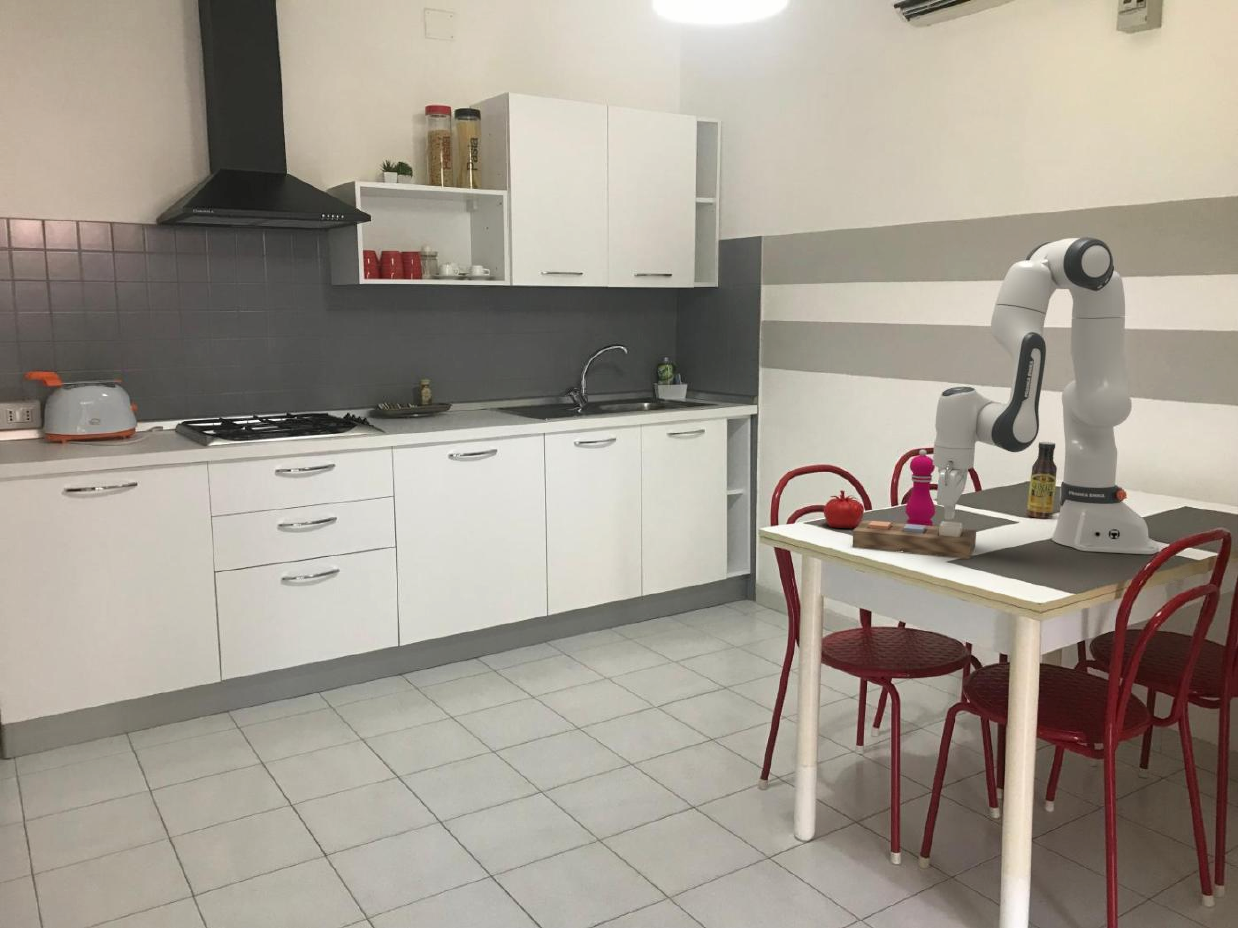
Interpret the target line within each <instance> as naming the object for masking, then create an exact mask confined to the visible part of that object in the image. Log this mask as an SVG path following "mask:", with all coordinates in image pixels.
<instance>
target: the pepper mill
mask: <svg viewBox="0 0 1238 928" xmlns="http://www.w3.org/2000/svg"><path fill="white" fill-rule="evenodd" d="M918 453H919V455H917V456H914V457H913V458H912V459H911V460H910V462H909V469H910V471H911V472H912V474H911V481H912V483H913V485H912V491H911V495H910V497H909V499H908V501H907V502H906V505H905V514H906V515H907V517H908V519H907V520H906V524H914V525H925V526H934V525H933V524H934V523H933V521H932V520H931V519H932V518H933V517H934V516H935V514H936V507H935V502H934V501H933V499H932V496H931V491H930V487H931V486H930V485H931V482H932V481H933V474H932V473H933V472H934V470H935V468H936V466H934V465H933V457H932V458H931V456H927V455H928V454H927V453H928V452H927V450H925V449H921V450H919V452H918Z"/></svg>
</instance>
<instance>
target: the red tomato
mask: <svg viewBox="0 0 1238 928" xmlns="http://www.w3.org/2000/svg"><path fill="white" fill-rule="evenodd" d="M839 493H840V494H839V496H838V495H830V498H831V499H830V500H828V501H827V502H826V503H825V505H824V508H823V515H824V518H825V522H826V524H827V526H828V527H832V528H836V529H837V528H838V529H853V528H854V529H855V528H856V527H857V526H858V525H859V524H860V523H861V522H862V520H864V511H865V507H864V505H863V504H862V503H861V502H860V501H859V498H856V497H854V496H851V495H848V496H845V490H840V491H839Z"/></svg>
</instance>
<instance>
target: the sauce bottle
mask: <svg viewBox="0 0 1238 928" xmlns="http://www.w3.org/2000/svg"><path fill="white" fill-rule="evenodd" d="M1037 447H1038V456H1037V458H1036V459H1035V461H1034V463H1033V465H1032V466H1031V476H1030V481H1029V491H1028V498H1027V499H1028V500H1027V507H1026V508H1027V512H1026V513H1027V515H1028V516H1029V517H1032V518H1035V519H1049V518H1052V515H1053V510H1054V500H1055V492H1056V484H1057V483H1056V482H1057V470H1058V468H1057V465H1056V463H1055V461H1054V454H1055V449H1056V443H1055V442H1049V441H1039V442H1038V446H1037Z"/></svg>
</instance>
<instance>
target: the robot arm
mask: <svg viewBox="0 0 1238 928" xmlns="http://www.w3.org/2000/svg"><path fill="white" fill-rule="evenodd" d="M1112 254H1113V253H1112V251H1111V249H1110V248H1109V246H1108V244H1107V243H1106V242H1104V241H1103V240H1100V239H1098V238H1093V237H1088V236H1086V237H1085V236H1084V237H1070V238H1069V237H1068V238H1062V239H1059V240H1057V241H1056V240H1055V241H1049V242H1045V243H1042V244H1040V245H1038V246H1036V247H1034V248H1033V249H1032V250H1031V251H1030V253H1029V254H1028V255H1027V256H1026V258H1025V260H1021V261H1017V262H1015V263H1014V264H1012V266H1010V268H1009V269H1008V271H1007V272H1006V275H1005V277H1004V280H1003V281H1002V284H1001V286H1000V289H999V292H998V295H997V297H996V301H995V305H994V308H993V311H992V314H991V315H992V316H991V322H990V332H991V335H992V337H993V338H994V340H995V342H996V343H997V344H998V345H999V346H1000V347H1001V348H1002V349H1004V350H1005V351H1006V352H1007V353H1008V354H1009V355H1010V357H1011V359H1012V361H1013V375H1012V381H1011V387H1010V394H1009V400H1008V401H1007V403H1001V402H999V401H998V402H997V401H994V400H992V399H990V398H987V397H985V396H983V395H982V394H980V393H979V392H978V391H977V390H976V389H975V387H971V386H955V387H949V388H948V389H945V390H943V391H942V392H941V394H940V396H939V398H938V401H937V406H936V407H937V408H936V415H935V425H934V426H935V430H936V436H935V440H934V442H933V452H932V453H933V454H932V455H933V457H932V460H933V465H934V466H935V468H936V467H937V468H938V469H937V472H938V474H939V475H938V481H937V482H938V483H937V490H936V491H937V493H936V504H937V505H938V506H943V508H944V519H945V520H949V521H950V520H953V519H954V517H955V512H956V511H955V510H956V506H957V501H958V500H959V498H960V497H961V495H962V494H963V493H964V491H965V488H966V484H967V477H968V474H969V469H973V468H974V464H975V451H976V449H975V448H976V443H977V442H981V443H983V444H986V445H989V446H994V447H997V448H1000V449H1002V450H1005V451H1007V452H1010V453H1019V452H1022V451H1025V450H1026V449H1028V448H1029V447H1031V446H1032V445H1033V443H1034V442H1035V440H1036V439H1037V436H1038V434H1039V431H1040V417H1039V415H1040V414H1039V412H1040V411H1039V407H1040V397H1041V391H1042V385H1043V378H1044V372H1045V365H1046V355H1047V345H1046V341H1045V339H1044V325H1045V321H1046V317H1047V313H1048V308H1049V304H1050V300H1051V297H1052V296H1053V294H1054V293H1055V292H1056V290H1068V291H1069V293H1070V295H1071V298H1072V309H1071V329H1070V332H1071V333H1070V355H1071V358H1072V362H1073V363H1072V364H1073V371H1074V378H1075V379H1073V380H1071V381H1070V382H1069V383H1068V384H1066V386H1064V389H1063V390H1062V394H1061V404H1062V414H1063V415H1062V417H1063V432H1064V433H1063V434H1064V443H1065V444H1064V445H1065V447H1064V450H1065V452H1064V467H1063V468H1064V469H1063V480H1062V481H1061V483H1060V488H1059V505H1060V508H1059V515H1058V518H1057V522H1056V527H1055V530H1054V532H1053V535H1052V537H1051V540H1052V541H1053V542H1054V543H1057V544H1059V545H1063V546H1067V547H1070V548H1073V549H1076V550H1078V551H1083V552H1095V553H1096V552H1099V553H1115V554H1117V553H1118V554H1119V553H1120V554H1132V555H1133V554H1136V555H1137V554H1138V555H1154V554H1156V553H1158V551H1159V544H1158V542H1157V541H1155V540H1154V539H1152V538H1149V528H1148V526H1147V523H1146V521H1145V519H1144V518H1143V516H1141V515H1140V514H1139V513H1137V512H1136V511H1135V510H1133V509H1132V508H1131V507H1130V506H1129V505H1128V504H1126V503H1125V502H1124V500H1125V499H1126V498H1127V492H1126V490H1124V489H1123V487H1120V486H1118V485H1117V484H1116V476H1117V464H1118V463H1117V462H1118V448H1117V446H1116V440H1115V431H1114V429H1115V428H1114V427H1117V426H1120V425H1121V424H1122V423H1124V422H1125V421H1126V420H1127V419H1128V417H1129V416H1130V414H1131V412H1132V399H1131V396H1130V394H1129V384H1128V383H1129V382H1128V381H1129V380H1128V374H1127V366H1126V361H1125V360H1126V359H1125V327H1126V300H1125V290H1124V284H1123V278H1122V277H1121V275H1120V273H1118V272H1117V271H1115V265H1114V259H1113V255H1112Z"/></svg>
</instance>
